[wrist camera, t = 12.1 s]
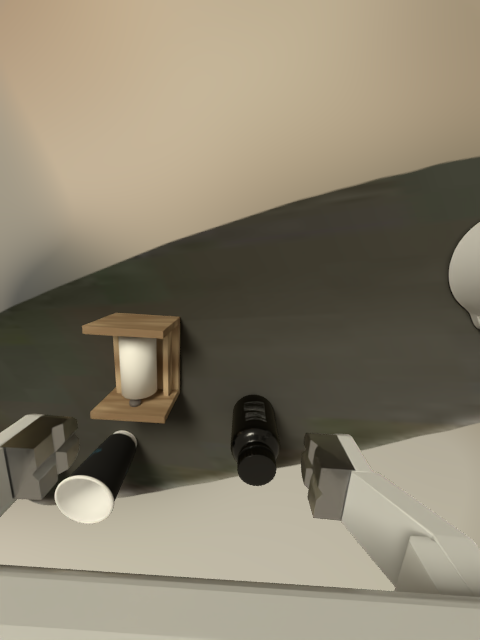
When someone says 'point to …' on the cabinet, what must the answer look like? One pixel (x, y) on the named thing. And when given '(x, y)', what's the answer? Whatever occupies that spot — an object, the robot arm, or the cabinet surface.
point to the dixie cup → (97, 480)
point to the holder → (167, 366)
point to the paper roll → (138, 366)
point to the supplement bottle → (255, 440)
